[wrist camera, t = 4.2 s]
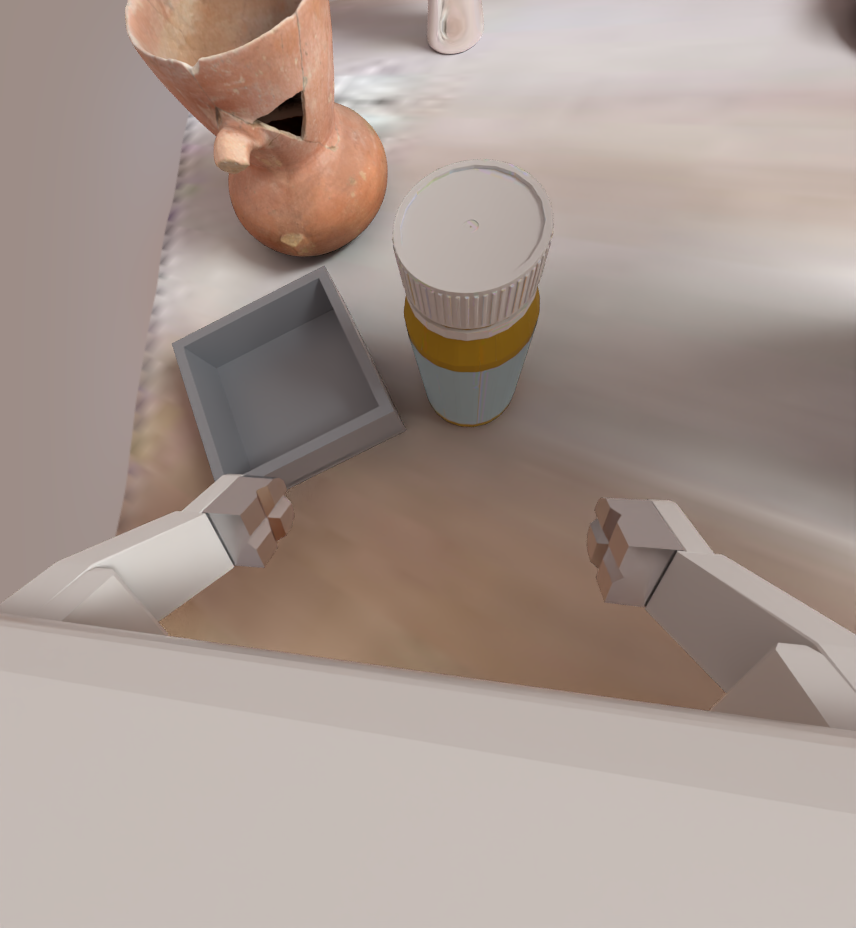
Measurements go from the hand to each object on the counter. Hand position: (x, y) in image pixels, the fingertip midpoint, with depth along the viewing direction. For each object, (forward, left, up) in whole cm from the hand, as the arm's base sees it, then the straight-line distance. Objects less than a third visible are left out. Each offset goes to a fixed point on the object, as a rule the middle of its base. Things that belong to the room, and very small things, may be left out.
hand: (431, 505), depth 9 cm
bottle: (+9, -6, -17) cm, 20 cm away
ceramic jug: (+33, -2, -17) cm, 38 cm away
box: (+15, +7, -17) cm, 24 cm away
